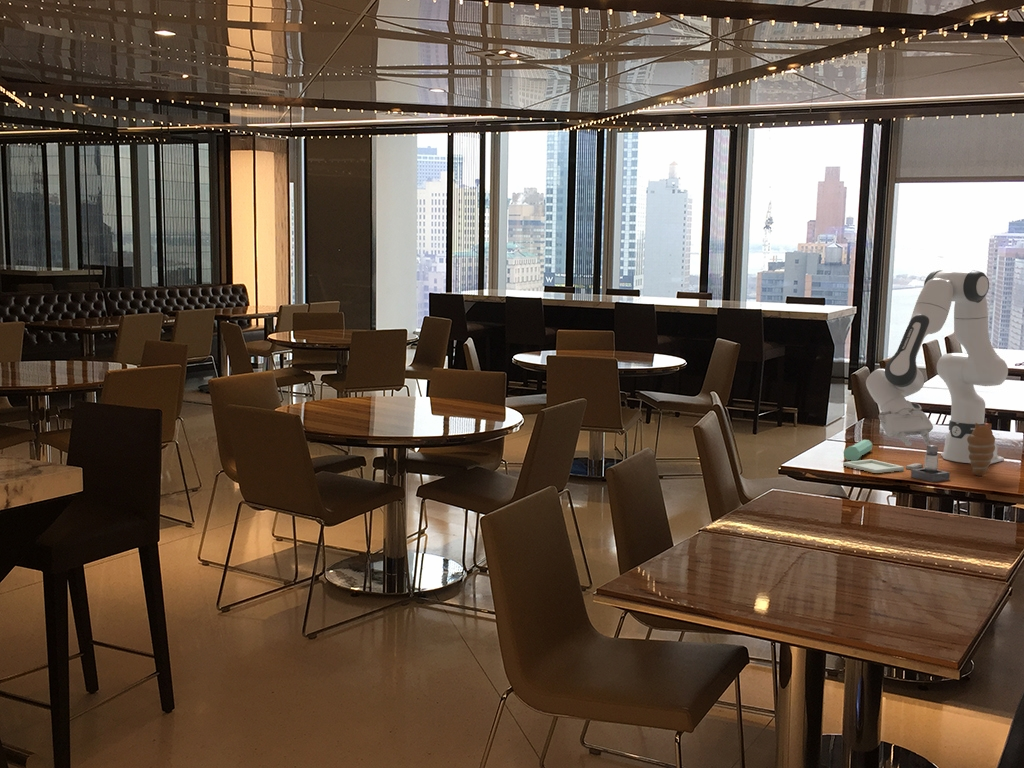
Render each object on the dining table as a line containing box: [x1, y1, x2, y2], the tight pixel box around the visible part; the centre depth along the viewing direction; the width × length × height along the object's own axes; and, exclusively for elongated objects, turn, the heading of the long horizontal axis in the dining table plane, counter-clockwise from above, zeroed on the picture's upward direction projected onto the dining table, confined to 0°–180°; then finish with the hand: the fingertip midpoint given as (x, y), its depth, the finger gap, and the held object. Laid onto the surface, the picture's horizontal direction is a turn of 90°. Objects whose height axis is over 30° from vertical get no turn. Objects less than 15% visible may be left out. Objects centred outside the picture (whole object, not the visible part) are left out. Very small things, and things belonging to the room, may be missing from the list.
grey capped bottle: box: [923, 444, 939, 474], centre depth 320 cm, size 4×4×11 cm
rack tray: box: [842, 458, 905, 473], centre depth 334 cm, size 14×14×2 cm
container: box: [843, 439, 873, 461], centre depth 358 cm, size 6×6×25 cm
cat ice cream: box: [967, 423, 996, 477], centre depth 326 cm, size 9×8×18 cm
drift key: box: [905, 462, 924, 471], centre depth 338 cm, size 8×2×2 cm, turn 134°
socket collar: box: [910, 467, 951, 483], centre depth 320 cm, size 8×8×2 cm
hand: (919, 444), depth 323 cm, fingers open, 8 cm apart
